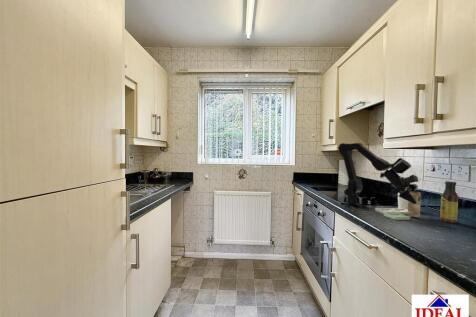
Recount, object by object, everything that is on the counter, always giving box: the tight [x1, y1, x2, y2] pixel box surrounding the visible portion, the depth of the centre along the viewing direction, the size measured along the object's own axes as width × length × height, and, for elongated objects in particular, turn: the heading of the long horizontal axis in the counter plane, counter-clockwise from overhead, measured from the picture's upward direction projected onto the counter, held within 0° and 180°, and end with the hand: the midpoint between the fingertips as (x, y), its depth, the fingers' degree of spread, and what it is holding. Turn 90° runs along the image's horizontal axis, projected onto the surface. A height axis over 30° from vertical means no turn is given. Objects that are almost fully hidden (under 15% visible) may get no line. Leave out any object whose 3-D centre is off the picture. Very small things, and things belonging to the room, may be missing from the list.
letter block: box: [407, 191, 422, 218], centre depth 122 cm, size 4×4×12 cm
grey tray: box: [389, 207, 409, 216], centre depth 132 cm, size 8×8×2 cm
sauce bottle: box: [439, 180, 459, 224], centre depth 116 cm, size 6×6×20 cm
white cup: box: [397, 193, 408, 210], centre depth 140 cm, size 8×8×10 cm
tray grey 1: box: [374, 207, 399, 215], centre depth 131 cm, size 8×8×2 cm
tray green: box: [383, 213, 411, 221], centre depth 121 cm, size 8×8×2 cm
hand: (417, 203), depth 121 cm, fingers closed on letter block, 4 cm apart
